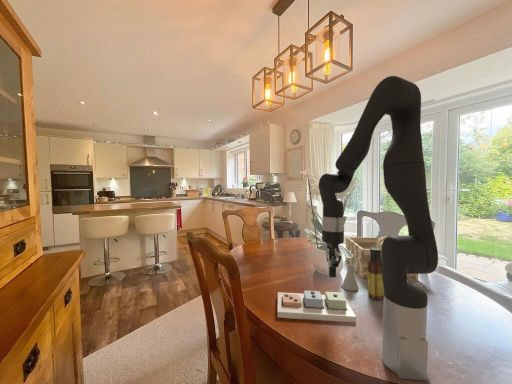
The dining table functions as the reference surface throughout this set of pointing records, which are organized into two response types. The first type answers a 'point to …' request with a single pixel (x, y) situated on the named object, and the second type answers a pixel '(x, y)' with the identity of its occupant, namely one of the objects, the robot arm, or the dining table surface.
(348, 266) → the flask
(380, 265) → the sauce bottle
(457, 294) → the dining table surface
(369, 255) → the woven basket
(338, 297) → the tile one
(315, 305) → the tile two
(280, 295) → the board
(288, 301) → the tile three
